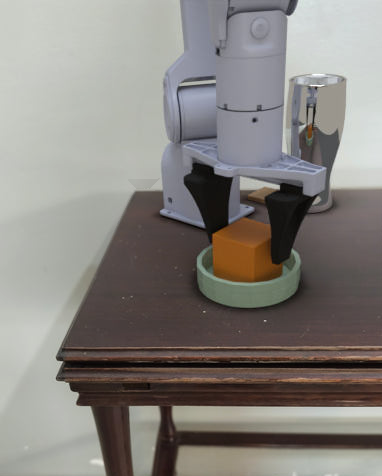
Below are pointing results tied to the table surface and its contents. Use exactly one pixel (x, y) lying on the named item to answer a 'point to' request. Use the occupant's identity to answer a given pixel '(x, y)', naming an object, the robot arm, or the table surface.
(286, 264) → the celadon bowl
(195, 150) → the robot arm
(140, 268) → the table surface
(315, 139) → the beer glass
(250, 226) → the orange cube
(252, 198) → the cork coaster
